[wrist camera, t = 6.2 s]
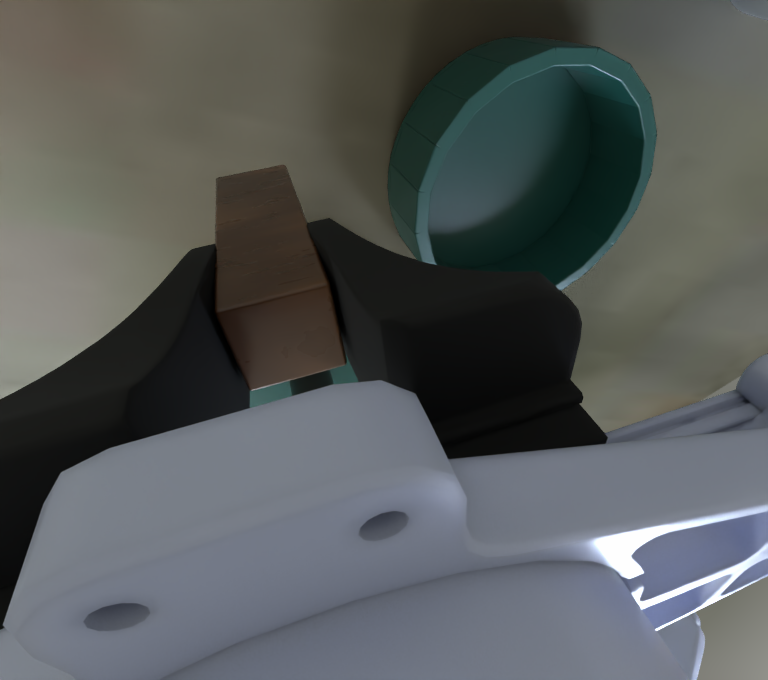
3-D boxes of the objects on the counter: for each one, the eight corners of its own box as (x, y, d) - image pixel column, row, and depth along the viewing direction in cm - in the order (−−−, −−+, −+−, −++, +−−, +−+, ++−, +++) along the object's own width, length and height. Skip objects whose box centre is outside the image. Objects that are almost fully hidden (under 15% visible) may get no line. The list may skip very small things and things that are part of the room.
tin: (590, 227, 26) (639, 258, 23) (416, 300, 25) (442, 342, 22) (603, -5, 18) (677, -3, 15) (356, 94, 18) (384, 115, 15)
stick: (285, 163, 14) (330, 282, 8) (300, 227, 15) (348, 366, 10) (215, 177, 14) (212, 311, 8) (237, 241, 15) (249, 393, 9)
